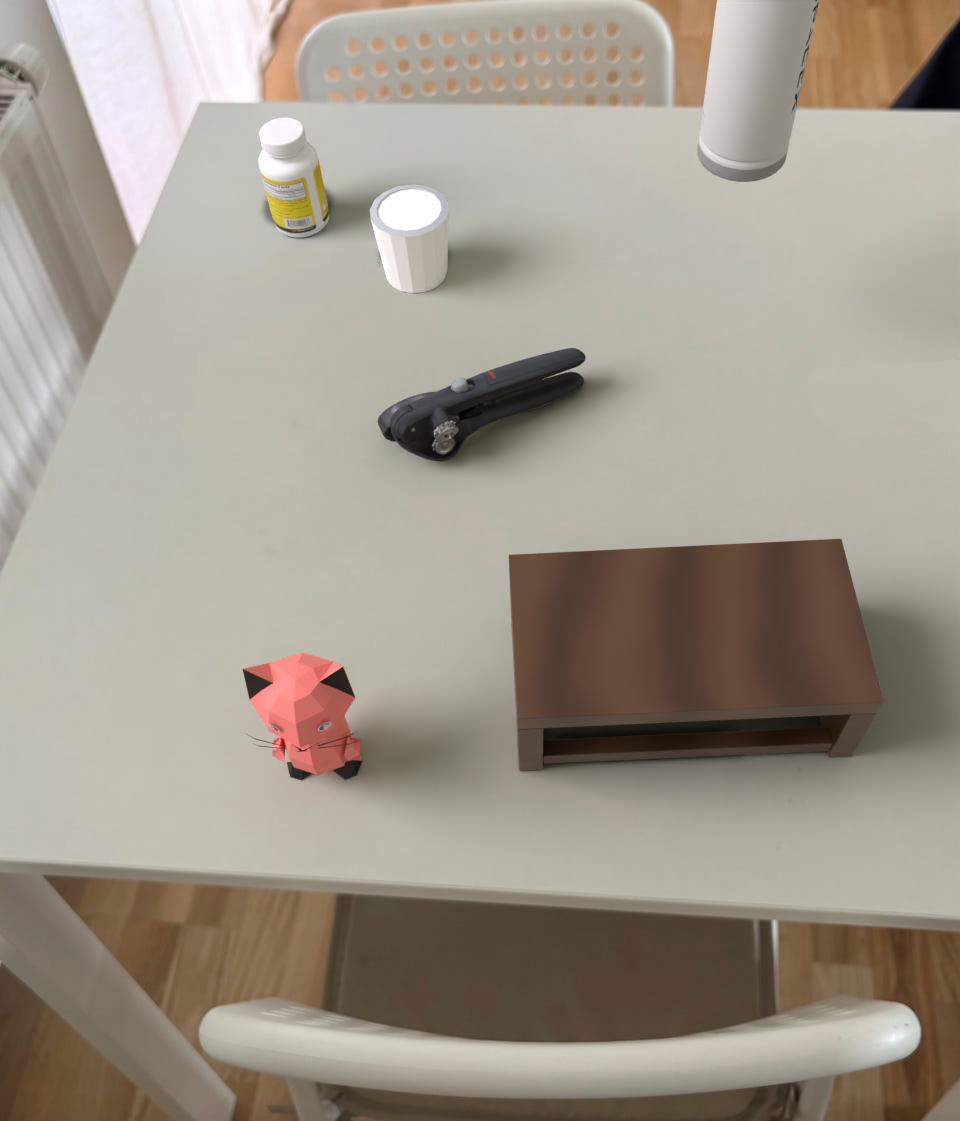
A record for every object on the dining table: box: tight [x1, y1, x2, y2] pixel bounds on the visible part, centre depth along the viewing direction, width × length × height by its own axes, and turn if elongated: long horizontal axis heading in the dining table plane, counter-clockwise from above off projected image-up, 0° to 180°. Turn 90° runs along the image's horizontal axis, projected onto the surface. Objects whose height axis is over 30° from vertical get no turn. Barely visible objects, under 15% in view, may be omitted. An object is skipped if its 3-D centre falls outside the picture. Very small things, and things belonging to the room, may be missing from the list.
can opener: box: [377, 347, 587, 463], centre depth 88 cm, size 18×7×6 cm, turn 115°
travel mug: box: [697, 0, 820, 183], centre depth 70 cm, size 6×7×20 cm
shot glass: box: [369, 184, 450, 294], centre depth 98 cm, size 7×7×7 cm
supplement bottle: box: [258, 117, 330, 238], centre depth 101 cm, size 5×5×10 cm
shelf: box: [508, 538, 884, 772], centre depth 73 cm, size 22×12×8 cm, turn 92°
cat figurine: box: [242, 652, 363, 781], centre depth 69 cm, size 7×7×12 cm
